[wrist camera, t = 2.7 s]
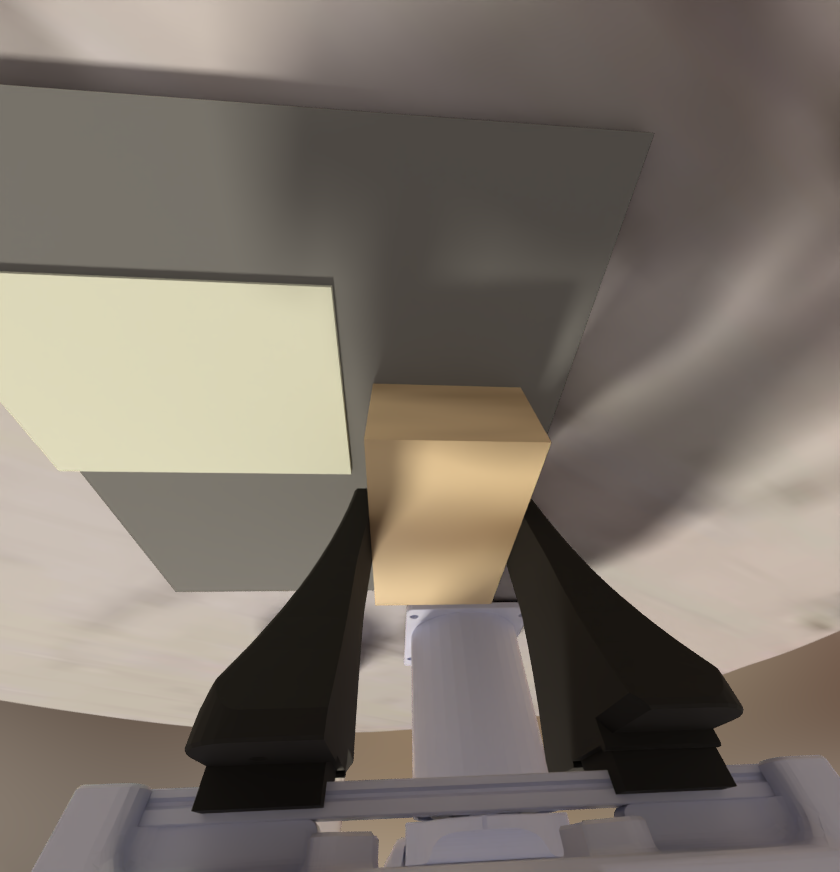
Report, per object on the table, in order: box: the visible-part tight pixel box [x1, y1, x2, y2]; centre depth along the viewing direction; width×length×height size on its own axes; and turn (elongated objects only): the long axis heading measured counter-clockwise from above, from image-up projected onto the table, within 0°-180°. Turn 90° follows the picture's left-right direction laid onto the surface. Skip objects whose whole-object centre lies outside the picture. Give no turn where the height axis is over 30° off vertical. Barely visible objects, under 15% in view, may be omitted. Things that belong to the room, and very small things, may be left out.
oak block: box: [364, 384, 551, 605], centre depth 13 cm, size 9×5×3 cm, turn 177°
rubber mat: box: [0, 84, 654, 592], centre depth 13 cm, size 20×18×1 cm
